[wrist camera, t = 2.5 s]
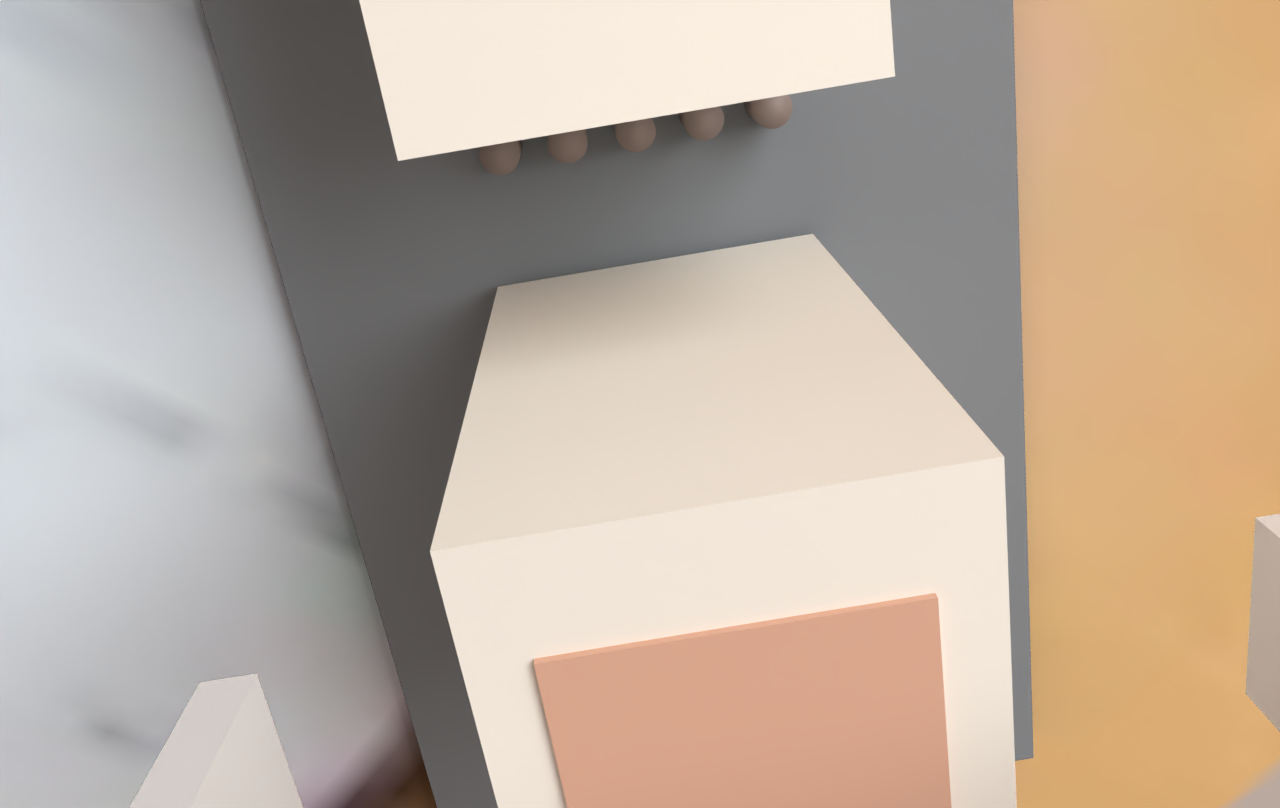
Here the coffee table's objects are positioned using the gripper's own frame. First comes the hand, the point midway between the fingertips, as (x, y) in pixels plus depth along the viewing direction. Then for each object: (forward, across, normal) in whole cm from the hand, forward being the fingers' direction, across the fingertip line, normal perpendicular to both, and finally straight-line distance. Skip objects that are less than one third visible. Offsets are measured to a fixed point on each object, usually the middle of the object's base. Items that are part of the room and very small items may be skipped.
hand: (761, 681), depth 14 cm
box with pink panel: (+8, 0, 0) cm, 8 cm away
